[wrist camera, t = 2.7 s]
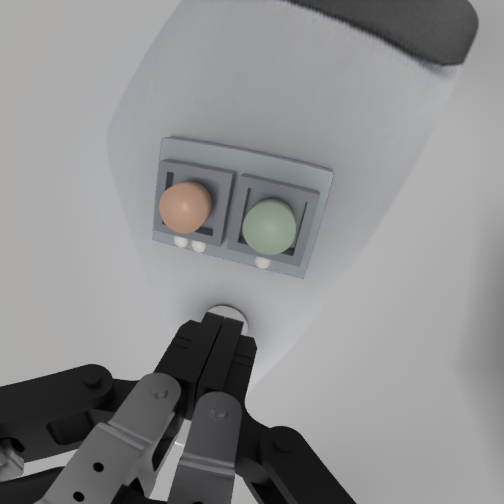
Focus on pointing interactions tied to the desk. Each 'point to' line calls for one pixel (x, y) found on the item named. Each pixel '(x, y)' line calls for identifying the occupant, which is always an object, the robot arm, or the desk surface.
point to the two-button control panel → (242, 200)
